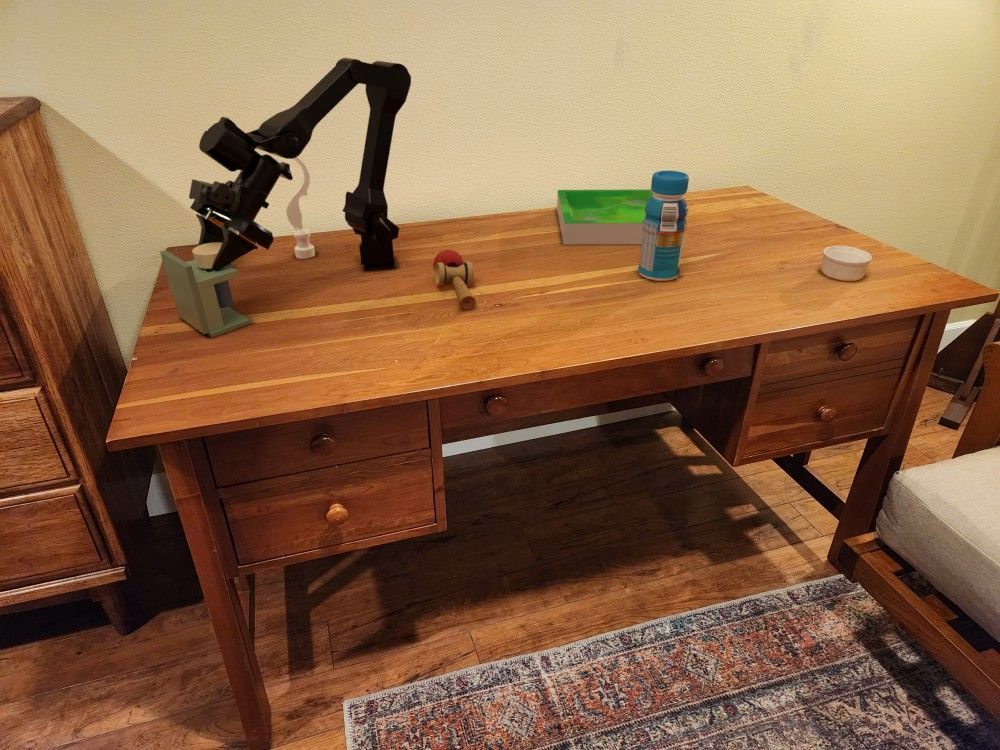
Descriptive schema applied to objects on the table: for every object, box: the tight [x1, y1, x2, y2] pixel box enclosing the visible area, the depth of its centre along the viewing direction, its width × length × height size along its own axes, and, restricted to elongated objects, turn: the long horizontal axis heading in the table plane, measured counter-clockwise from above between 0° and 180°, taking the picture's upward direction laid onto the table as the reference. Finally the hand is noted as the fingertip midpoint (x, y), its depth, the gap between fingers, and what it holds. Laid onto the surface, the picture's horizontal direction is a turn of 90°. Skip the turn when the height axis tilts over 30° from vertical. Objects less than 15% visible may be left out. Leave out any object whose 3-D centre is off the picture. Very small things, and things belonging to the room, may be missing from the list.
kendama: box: [432, 249, 476, 311], centre depth 128 cm, size 8×6×18 cm
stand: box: [159, 250, 252, 338], centre depth 116 cm, size 8×11×13 cm
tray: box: [556, 189, 653, 245], centre depth 160 cm, size 25×25×5 cm
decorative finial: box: [285, 156, 316, 260], centre depth 140 cm, size 6×4×25 cm
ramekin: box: [820, 245, 873, 282], centre depth 134 cm, size 9×9×4 cm
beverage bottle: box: [637, 170, 690, 282], centre depth 130 cm, size 8×8×20 cm
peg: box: [191, 242, 235, 308], centre depth 117 cm, size 6×6×10 cm
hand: (206, 265), depth 114 cm, fingers closed on peg, 6 cm apart
